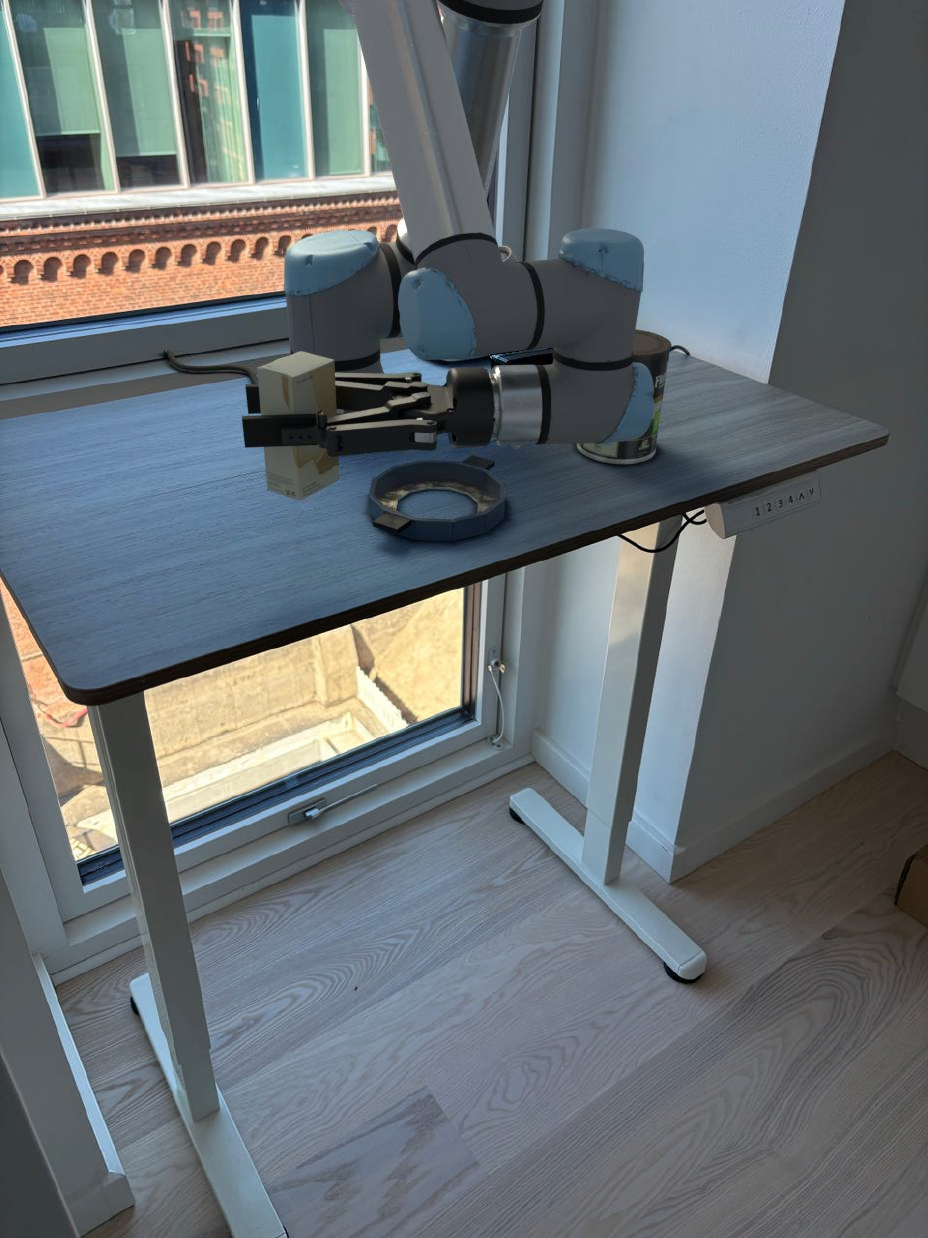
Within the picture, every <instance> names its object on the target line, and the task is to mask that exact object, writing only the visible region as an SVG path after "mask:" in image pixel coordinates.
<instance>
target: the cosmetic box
mask: <svg viewBox="0 0 928 1238" xmlns="http://www.w3.org/2000/svg"><path fill="white" fill-rule="evenodd" d="M256 370H257V371H256V372H257V380H258V384H259V396H260V408H261V414H260V415H287V414H316V418H317V412H318V411H320V410H322V411H323V412H324V413H325V415H327V417H331V416H337V410H336V387H335V363H334V360H333V359H329V358H325V357H321V356H317V355H314V354H310V353H306V352H303V351H300V352H297V353H294V354H292V355H289V354H288V355H287V356H283V357H280V358H277V359H275V360H273V361H271V362H269V363H266V364H263V365H260V366H258V367H257V368H256ZM317 424H318V421H317ZM263 453H264V467H265V478H266V489H267V491H269V492H272V493H275V494H278V495H281V496H283V497H287V498H290V499H293V500H296V501H300V502H301V501H303V500H306V499H307V498H309V497H311V496H313V495H314V494H317V493H319V492H320V491H322V490H324V489H325V488H327V487H329V486H331V485H332V484H335V483H336V482H338V481H339V480H340V456H337V457H330V456H328V455H327V449H325V448H321V447H319V444H318V445H305V446H277V447H263Z"/></svg>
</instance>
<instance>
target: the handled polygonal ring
mask: <svg viewBox="0 0 928 1238" xmlns="http://www.w3.org/2000/svg"><path fill="white" fill-rule="evenodd" d="M495 467H496V461H495V460H492V459H489V458H486V457H481V456H478V455H475V454H471V455H470V456H468V457H467V458H465V459H463V460H462V461H459V460H443V459H442V460H439V459H438V460H437V459H421V460H416V461H411V462H406V463H401V464H397V465H392V466H391V467H389V468H387V469H386V470H384V471H382V472H380V473H379V474H377V475H376V476H374V477H373V478H372V479H371V482H370V487H369V490H368V515H370V517H372V518H373V519H374V520H373V521H372V527H373V528H376V529H378V530H381V531H384V532H387V533H390V534H393V535H396V536H398V535H400V536H403V537H404V538H405V537H406V538H408V539H411V540H415V541H433V542H434V541H437V542H456V541H459V540H463V539H467V538H471V537H477V536H480V535H484V534H486V533H488V532H489V531H490V530H491V529H493V528H494V527H496V526H497V525H498V524H499V523H500V522H502V521H503V520H504V519H505V512H506V511H505V509H506V508H505V507H506V484H505V482H504V481H502V479H500V478H499V477H497V476H496V475H495V474H494V473H492V472H491V471H490V470H493V468H495ZM427 490H440V491H441V490H442V491H452V492H455V493H458V494H462V495H465V496H468V497H469V498H470V499H471V500H472V501H473V502H475V503H476V504H477V512H476V513H473V514H469V515H465V516H460V517H455V518H452V519H450V518H428V517H427V518H424V517H414V516H412V515H409V514H405V513H403V512H401V511H400V512H399V510H398V503H399V501H401V500H402V499H404V498H406V497H407V496H409V495H410V494H413V493H418V492H423V491H427Z"/></svg>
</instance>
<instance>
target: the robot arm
mask: <svg viewBox="0 0 928 1238" xmlns="http://www.w3.org/2000/svg"><path fill="white" fill-rule="evenodd" d="M337 2H338V5H339V6H340V7H341V9H342V10H343V11H344V12H345V13H346V14H347V15H348V16H350V17H351V18H353V21H354V25H355V30H356V33H357V37H358V41H359V45H360V49H361V53H362V56H363V61H364V65H365V69H366V73H367V77H368V78H367V79H368V81H369V85H370V89H371V93H372V97H373V102H374V105H375V109H376V110H375V111H376V113H377V118H378V122H379V125H380V130H381V133H382V138H383V141H384V145H385V149H386V153H387V158H388V161H389V166H390V169H391V174H392V177H393V182H394V186H395V190H396V194H397V198H398V203H399V205H400V210H401V213H402V217H401V219H400V220H399V222H398V225H397V230H396V238H395V241H389V242H379V240H378V237H377V236H376V234H374V233H373V232H371V231H368V230H362V229H351V230H347V229H338V230H337V229H335V230H330V231H325V232H319V233H316V234H313V235H309V236H307V237H304V238H301V239H299V240H298V241H297V242H295V243H294V244H292V245H291V246H290V247H289V248H288V249H287V251H286V252H285V256H284V265H283V267H284V269H283V270H284V271H283V279H284V280H283V291H284V293H285V304H286V316H287V329H288V330H287V331H288V344H289V353H290V355H292V354H294V353H297V352H300V351H303V352H306V353H310V354H314V355H317V356H321V357H325V358H329V359H333V360H334V363H335V387H336V410H337V416H331V417H327V415H325V413H324V412H323V411H322V410H320V411H318V412H317V418H316V414H287V415H261V408H260V396H259V384H258V376H257V375H256V373H255V372H254V371H253V370H252V369H250V368H248V367H246V366H242V365H236V364H215V365H214V364H213V365H189V364H184V363H181V362H180V361H178V360H177V359H176V357H175V355H174V353H173V351H172V350H171V349H170V350H167V353H166V352H165V349H164V350H163V352H162V354H161V356H163V357H167V358H169V361H170V362H171V363H172V365H174V366H175V367H176V368H177V369H180V370H181V371H182V370H184V371H189V372H215V371H216V372H217V371H236V372H241V373H245V374H248V375H249V376H250V378H251V382H252V383H245V386H244V387H245V396H246V397H245V398H246V407H247V414H248V415H242V416H241V422H242V423H241V425H242V434H243V442H244V448H245V449H246V448H247V449H249V448H264V447H277V446H305V445H318V444H319V447H321V448H325V449H327V455H328V456H330V457H337V456H338V457H346V456H358V455H366V454H367V455H368V454H377V453H379V454H380V453H389V452H390V453H391V452H400V451H428V452H430V451H435V450H437V449H438V448H437V447H438V436H440V435H444V434H447V439H448V442H449V444H450V446H451V447H452V448H454V449H469V448H470V449H472V448H486V447H487V446H488V445H490V443H491V441H492V443H493V444H494V445H495V446H496V447H510V446H511V447H512V448H513V449H516V450H519V449H521V448H522V446H534V445H535V446H537V445H538V446H539V445H560V444H561V445H562V444H563V445H566V444H567V445H569V444H577V443H595V444H604V443H611V442H622V441H627V440H634V439H637V438H639V437H641V436H642V435H643V434H644V433H645V432H646V431H647V429H648V427H649V425H650V423H651V420H652V416H653V410H654V401H653V393H654V386H653V380H652V376H651V374H650V371H649V370H648V368H647V367H646V366H645V365H643V364H641V363H635V362H633V350H632V349H633V343H634V336H635V330H636V329H637V322H638V315H639V309H640V303H641V297H642V293H643V291H644V273H645V271H644V270H645V247H644V245H643V242H642V241H641V239H640V238H639V237H637V236H636V235H634V234H631V233H629V232H626V231H623V230H618V229H612V228H602V227H601V228H598V227H596V228H595V227H591V228H588V227H586V228H579V229H577V230H571V231H569V232H567V233H565V235H563V237H562V240H561V243H560V249H559V251H557V256H558V258H552V259H540V260H527V261H526V260H525V261H519V262H515V263H504V262H503V261H502V257H501V253H500V250H499V248H498V246H499V245H498V241H497V237H496V233H495V229H494V224H493V221H492V217H491V213H490V209H489V205H488V201H487V200H488V195H489V192H490V191H489V190H490V186H491V181H492V176H493V171H494V168H495V167H494V166H495V162H496V157H497V152H498V148H499V143H500V138H501V133H502V129H503V128H502V127H503V124H504V118H505V114H506V110H507V109H506V108H507V104H508V100H509V96H510V94H509V93H510V91H511V84H512V80H513V76H514V70H515V66H516V61H517V56H518V52H519V46H520V42H521V37H522V33H523V29H525V28H526V27H528V26H529V25H530V24H533V23H534V22H536V21H537V20H538V19H539V17H540V16H541V14H542V9H543V4H544V0H337ZM397 338H403V340H404V342H405V344H406V346H407V348H408V349H409V351H410V352H411V353H412V354H413V355H414V356H415V357H417V358H419V359H420V360H426V361H432V360H434V361H435V360H436V361H437V360H441V359H461V360H460V361H465V360H464V359H467V358H470V357H474V356H482V355H489V354H494V355H498V354H502V353H503V354H504V353H511V352H518V351H519V352H520V351H532V350H533V351H534V350H542V349H550V348H552V359H553V361H552V363H550V364H543V365H541V364H509V365H508V364H507V365H504V364H503V365H495V366H493V367H492V368H491V369H490V372H489V370H488V369H487V368H485V366H463V367H462V366H461V367H458V366H457V367H452V368H450V369H449V370H448V371H447V373H446V377H445V380H446V381H445V383H444V384H443V385H439V384H430V383H427V382H423V380H422V378H423V377H422V376H423V374H422V373H421V372H418V371H413V372H403V373H385V372H384V368H383V365H382V362H381V341H382V340H386V339H387V340H388V339H397ZM497 353H498V354H497ZM489 356H490V355H489ZM467 360H468V359H467ZM259 414H260V415H259ZM317 421H318V424H317Z"/></svg>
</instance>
